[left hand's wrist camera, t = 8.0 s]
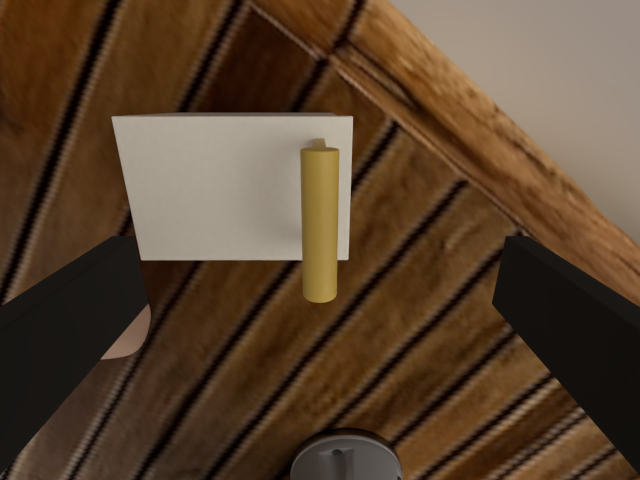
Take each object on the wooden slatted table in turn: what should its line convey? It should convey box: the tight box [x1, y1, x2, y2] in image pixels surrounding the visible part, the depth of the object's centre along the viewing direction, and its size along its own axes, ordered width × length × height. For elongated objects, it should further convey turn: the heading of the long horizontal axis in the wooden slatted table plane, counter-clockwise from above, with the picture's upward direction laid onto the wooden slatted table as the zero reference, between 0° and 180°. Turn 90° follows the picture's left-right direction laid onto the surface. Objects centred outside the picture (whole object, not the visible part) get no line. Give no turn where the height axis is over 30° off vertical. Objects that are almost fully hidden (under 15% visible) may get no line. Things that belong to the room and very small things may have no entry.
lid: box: [112, 116, 353, 303], centre depth 20 cm, size 15×10×9 cm, turn 90°
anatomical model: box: [101, 304, 151, 359], centre depth 37 cm, size 13×4×12 cm
